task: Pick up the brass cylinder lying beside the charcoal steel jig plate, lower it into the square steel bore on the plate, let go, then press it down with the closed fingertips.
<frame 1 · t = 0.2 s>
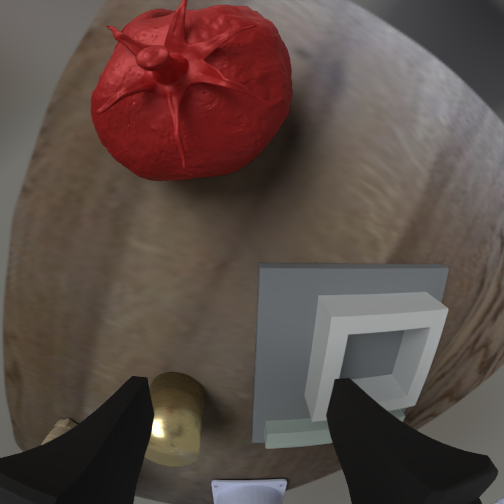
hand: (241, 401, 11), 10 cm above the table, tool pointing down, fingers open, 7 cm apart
brass cylinder: (177, 393, 22), on the table
handle: (73, 426, 24), on the table
jig: (345, 362, 22), on the table
red tomato: (197, 101, 17), on the table
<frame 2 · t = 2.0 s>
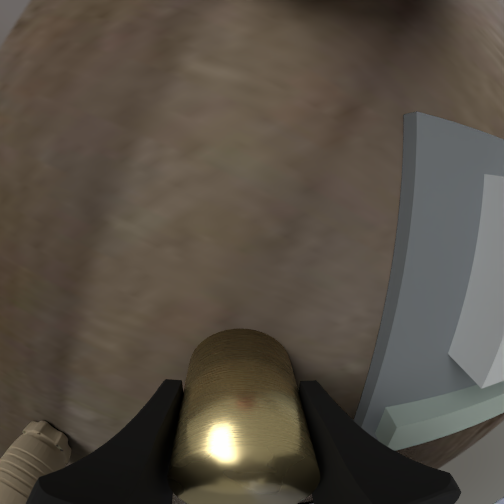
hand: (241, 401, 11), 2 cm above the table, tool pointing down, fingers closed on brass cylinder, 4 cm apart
brass cylinder: (240, 372, 13), on the table, touching gripper
handle: (53, 433, 14), on the table
jig: (489, 300, 13), on the table
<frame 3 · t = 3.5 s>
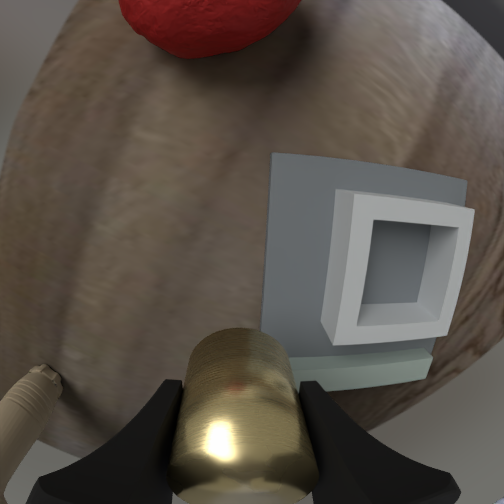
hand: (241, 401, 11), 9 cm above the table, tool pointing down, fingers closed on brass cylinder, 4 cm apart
brass cylinder: (239, 371, 13), point 7 cm above the table, touching gripper
handle: (50, 375, 21), on the table
jig: (365, 284, 20), on the table
red tomato: (213, 7, 15), on the table
when the fingers open (5 cm above the table, at t = 5.3 s): brass cylinder drops 2 cm, resting on jig.
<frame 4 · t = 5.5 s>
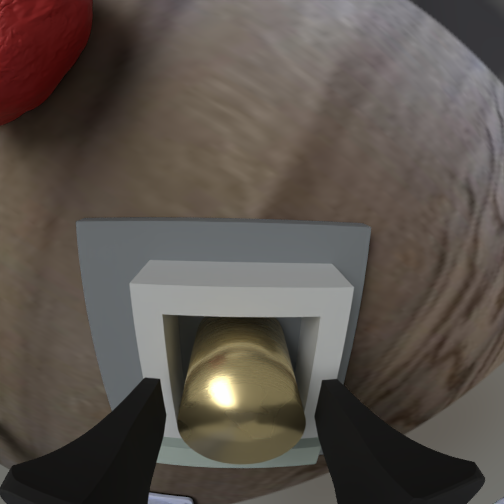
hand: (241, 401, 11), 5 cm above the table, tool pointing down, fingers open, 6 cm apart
brass cylinder: (239, 341, 15), point 1 cm above the table, touching jig
jig: (220, 362, 17), on the table
red tomato: (40, 50, 11), on the table
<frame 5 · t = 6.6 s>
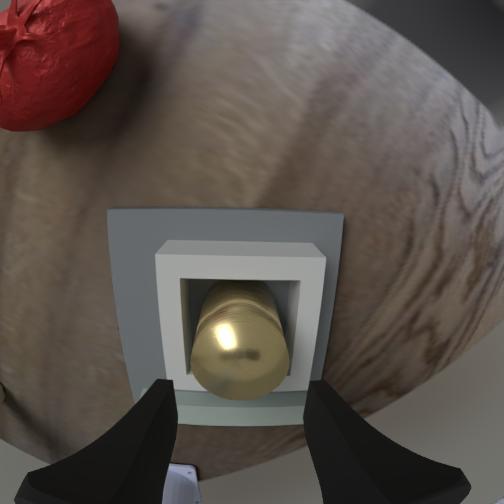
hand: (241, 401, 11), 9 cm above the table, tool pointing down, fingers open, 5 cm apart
brass cylinder: (239, 307, 19), point 1 cm above the table, touching jig
jig: (223, 328, 20), on the table
red tomato: (70, 65, 15), on the table
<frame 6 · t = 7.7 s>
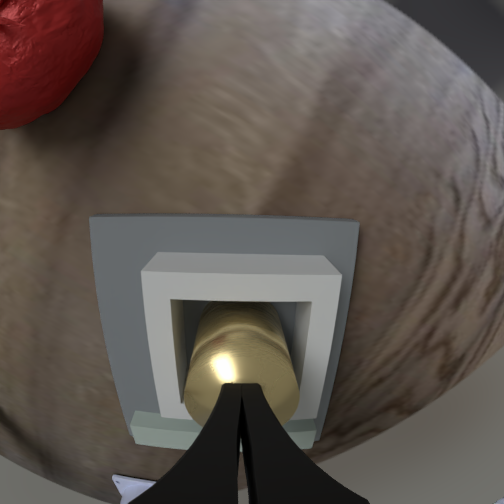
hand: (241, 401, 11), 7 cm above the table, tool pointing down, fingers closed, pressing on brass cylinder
brass cylinder: (239, 327, 17), point 1 cm above the table, touching gripper, jig
jig: (221, 349, 18), on the table
red tomato: (52, 57, 13), on the table
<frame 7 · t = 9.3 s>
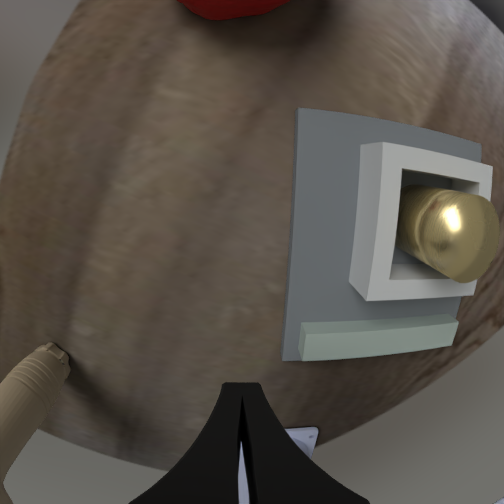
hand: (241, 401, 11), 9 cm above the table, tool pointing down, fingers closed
brass cylinder: (414, 218, 18), point 1 cm above the table, touching jig
handle: (57, 355, 21), on the table
jig: (390, 245, 19), on the table
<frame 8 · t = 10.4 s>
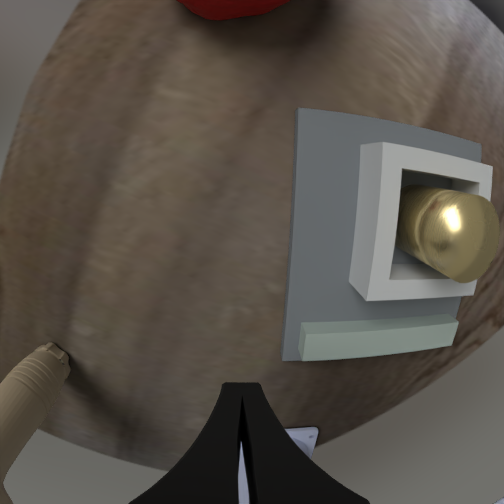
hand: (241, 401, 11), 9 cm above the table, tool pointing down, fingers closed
brass cylinder: (414, 218, 18), point 1 cm above the table, touching jig
handle: (57, 355, 21), on the table
jig: (390, 245, 19), on the table
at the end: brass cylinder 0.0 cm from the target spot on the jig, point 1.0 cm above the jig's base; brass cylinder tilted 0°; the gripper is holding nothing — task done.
